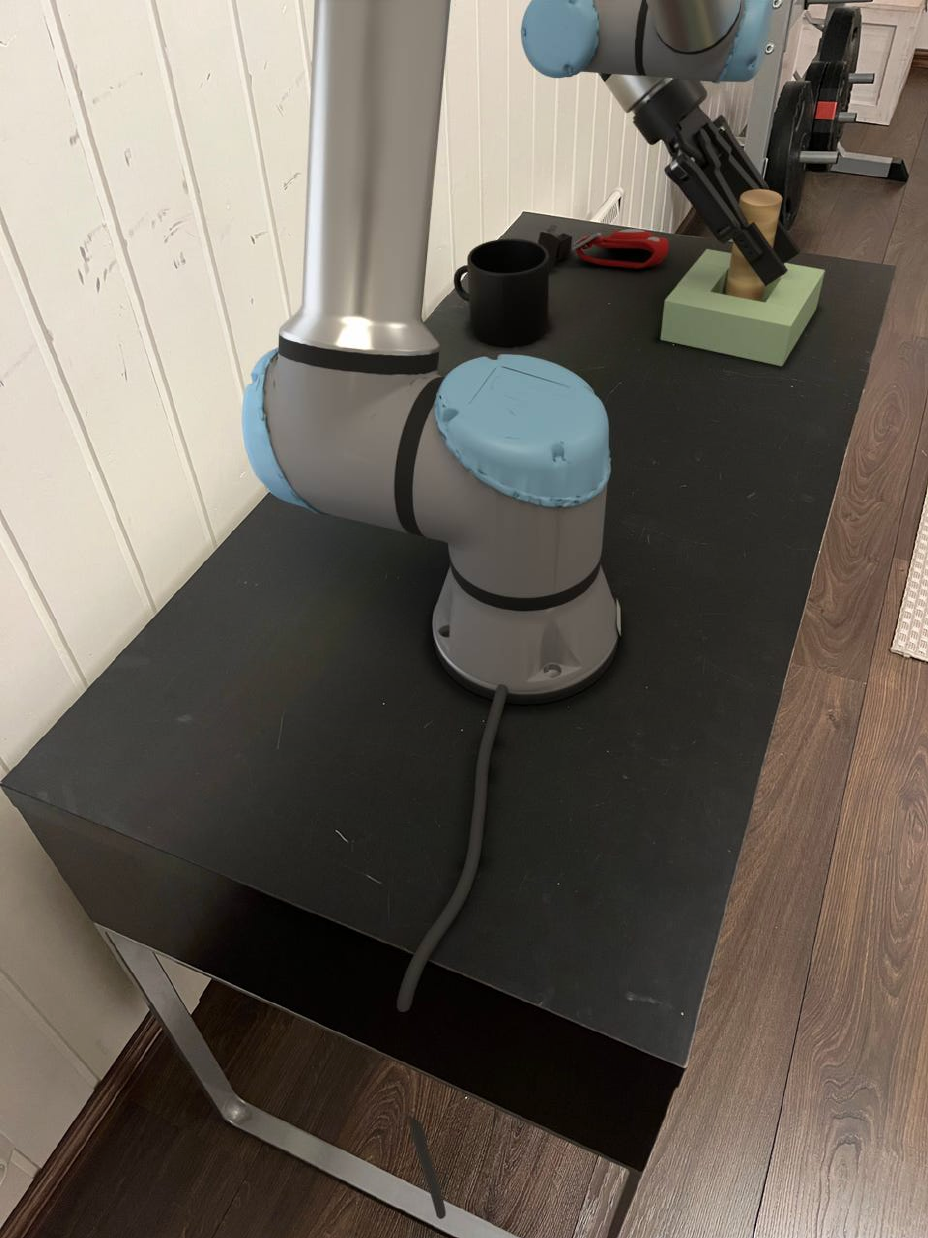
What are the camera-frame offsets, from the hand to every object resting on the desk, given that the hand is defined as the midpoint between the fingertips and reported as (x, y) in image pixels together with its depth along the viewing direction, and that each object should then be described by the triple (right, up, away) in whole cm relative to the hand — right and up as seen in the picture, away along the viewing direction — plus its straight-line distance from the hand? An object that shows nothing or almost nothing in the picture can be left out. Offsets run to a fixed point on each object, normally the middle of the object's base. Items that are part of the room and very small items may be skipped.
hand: (782, 268), depth 105 cm
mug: (-31, -4, +10) cm, 33 cm away
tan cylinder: (-3, -1, +4) cm, 5 cm away
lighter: (-26, +7, +17) cm, 32 cm away
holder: (-3, -4, +7) cm, 9 cm away
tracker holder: (-15, +9, +21) cm, 27 cm away
